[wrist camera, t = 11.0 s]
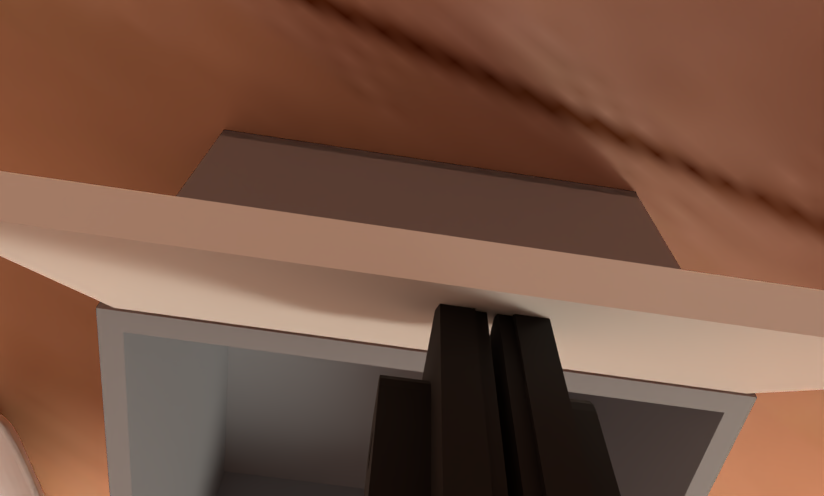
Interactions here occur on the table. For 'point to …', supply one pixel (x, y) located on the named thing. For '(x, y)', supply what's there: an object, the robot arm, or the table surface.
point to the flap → (408, 284)
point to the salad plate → (15, 465)
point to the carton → (363, 361)
